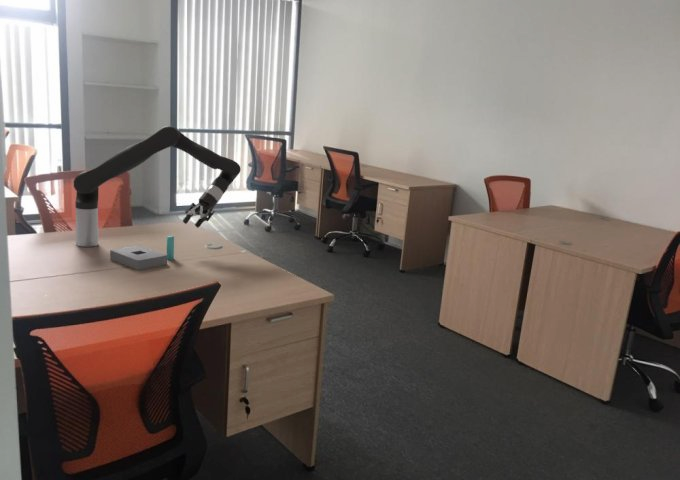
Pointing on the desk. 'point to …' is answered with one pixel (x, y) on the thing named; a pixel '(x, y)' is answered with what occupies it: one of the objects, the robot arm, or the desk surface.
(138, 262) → the hole block
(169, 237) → the peg
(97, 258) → the desk surface
